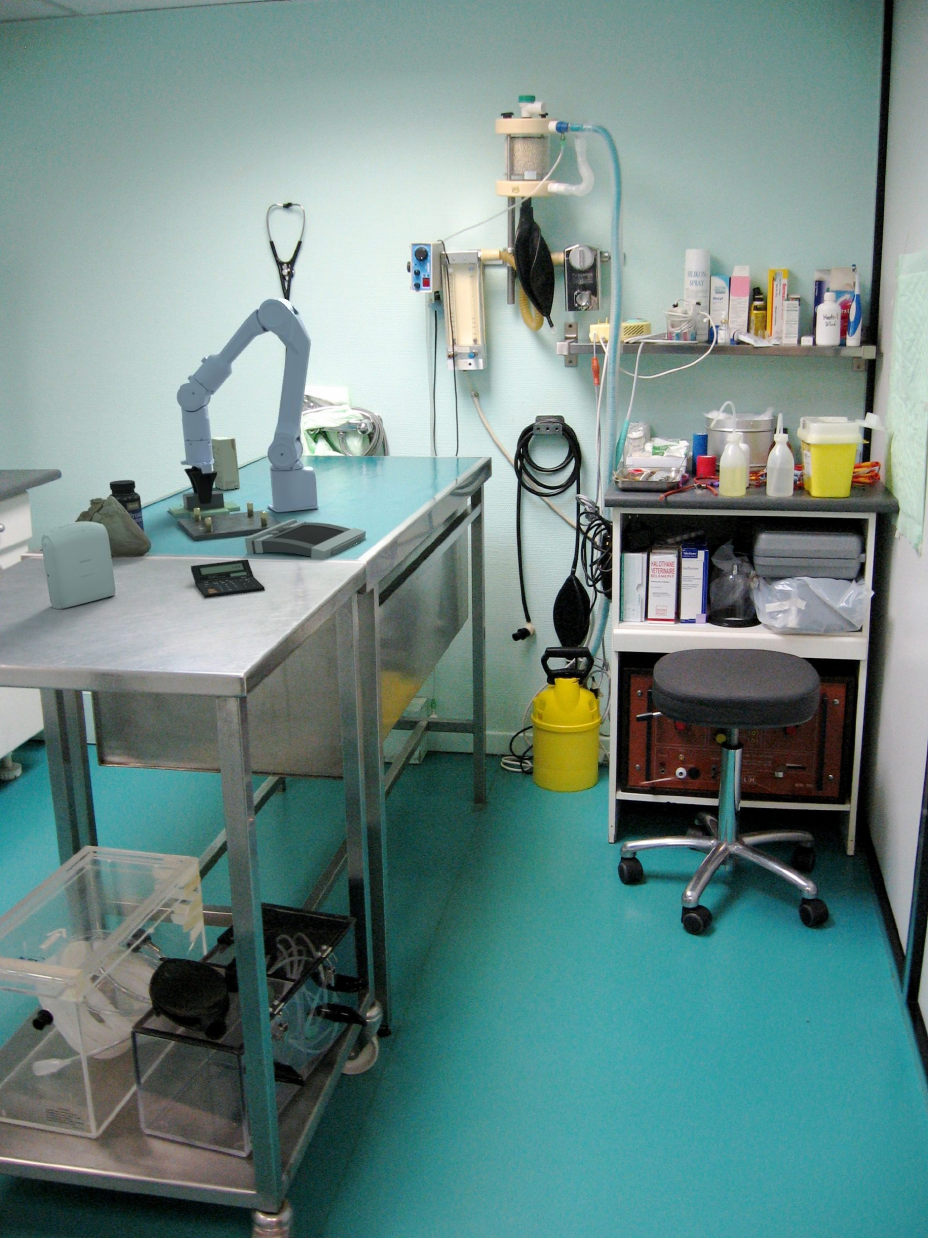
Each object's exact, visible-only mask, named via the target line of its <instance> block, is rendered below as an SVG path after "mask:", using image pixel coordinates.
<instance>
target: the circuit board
mask: <svg viewBox="0 0 928 1238" xmlns="http://www.w3.org/2000/svg"><path fill="white" fill-rule="evenodd" d="M224 500H225V498H224V493H223V492H222V491H220V490H212V499H211V503H208V504H201V503H200V500H199V497H198V493H194V492H189V493H183V494H182V501H183V503H179V506H170V507H168V512H169V513H171V514H172V516H174V517H175V518H179V517H188V516H189V517H190V518H194V508H200V517H204V516H214V515H224V514H231V512H237V511H241V506H240V505H238V504H236V502H233V501H232V500H231V501H230V500H229V501H224Z"/></svg>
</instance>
